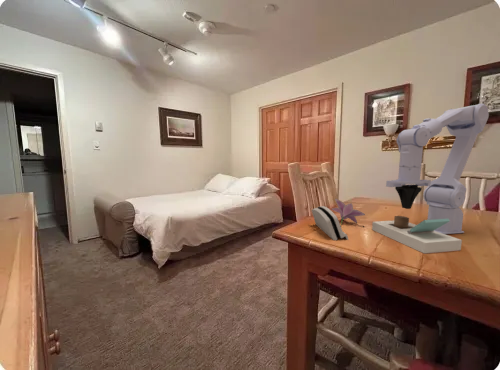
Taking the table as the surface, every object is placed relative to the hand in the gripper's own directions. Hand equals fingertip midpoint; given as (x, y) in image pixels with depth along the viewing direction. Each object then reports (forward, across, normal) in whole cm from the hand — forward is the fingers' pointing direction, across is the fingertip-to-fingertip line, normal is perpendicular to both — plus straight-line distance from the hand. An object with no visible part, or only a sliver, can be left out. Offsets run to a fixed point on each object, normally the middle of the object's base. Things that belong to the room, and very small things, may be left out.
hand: (406, 208), depth 71 cm
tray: (+10, 0, +2) cm, 10 cm away
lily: (+10, +11, -16) cm, 22 cm away
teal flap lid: (+6, 0, +6) cm, 8 cm away
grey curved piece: (+10, +23, -8) cm, 26 cm away
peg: (+10, 0, -2) cm, 10 cm away
